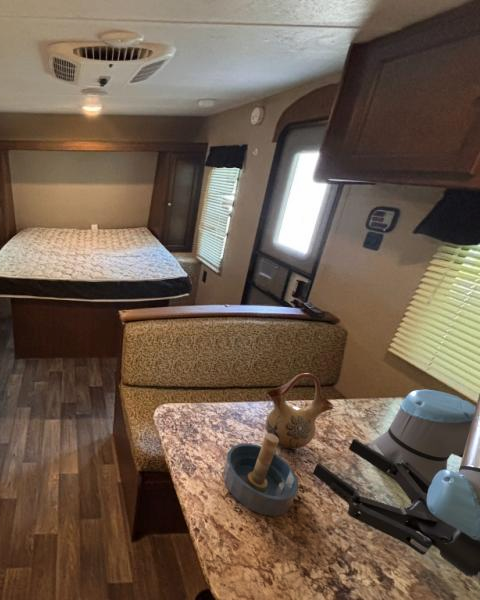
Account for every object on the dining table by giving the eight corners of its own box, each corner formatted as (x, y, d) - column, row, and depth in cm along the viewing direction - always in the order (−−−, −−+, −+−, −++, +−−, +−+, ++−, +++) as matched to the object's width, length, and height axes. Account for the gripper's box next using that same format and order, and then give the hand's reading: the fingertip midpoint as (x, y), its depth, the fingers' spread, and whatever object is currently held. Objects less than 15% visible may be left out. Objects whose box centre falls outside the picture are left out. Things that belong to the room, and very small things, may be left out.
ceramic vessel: (256, 448, 92) (280, 377, 82) (250, 426, 100) (270, 359, 90) (321, 462, 88) (353, 390, 78) (309, 438, 96) (337, 369, 86)
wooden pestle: (265, 481, 81) (282, 435, 75) (265, 496, 77) (283, 448, 71) (246, 474, 83) (261, 428, 77) (245, 487, 79) (261, 440, 73)
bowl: (288, 476, 83) (296, 459, 81) (292, 531, 71) (301, 512, 68) (225, 451, 90) (230, 435, 88) (218, 497, 78) (224, 479, 75)
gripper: (443, 621, 45) (293, 492, 62) (501, 537, 55) (358, 447, 72) (470, 593, 42) (304, 465, 59) (526, 509, 52) (371, 422, 69)
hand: (334, 455), depth 66 cm, fingers open, 13 cm apart
